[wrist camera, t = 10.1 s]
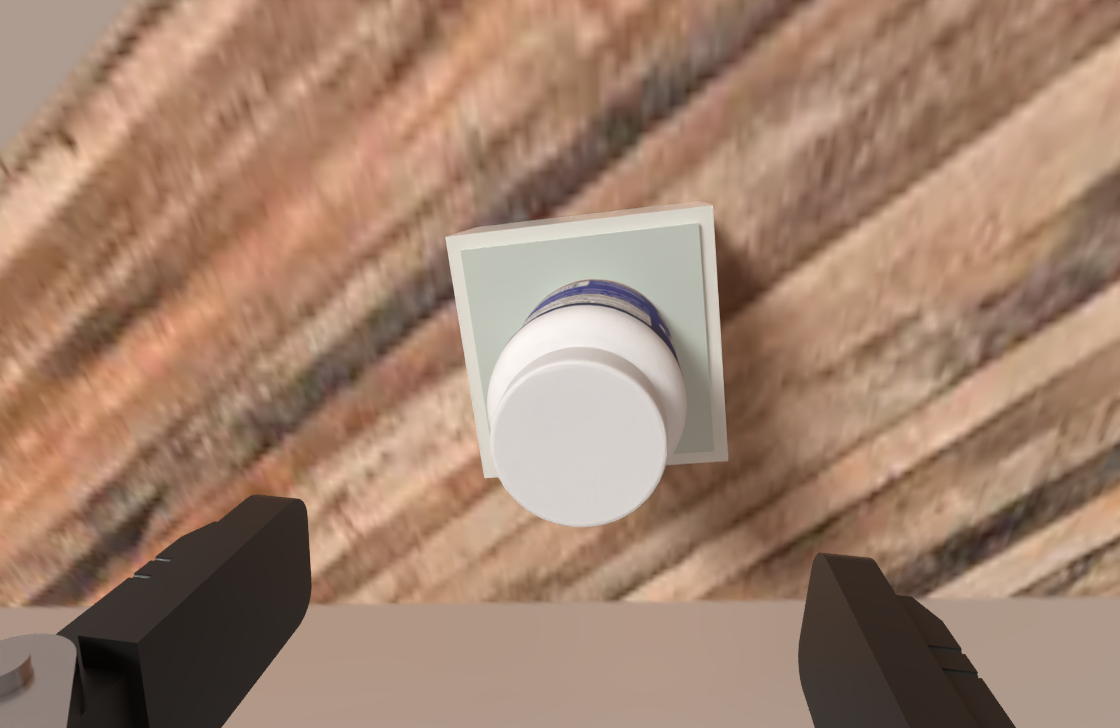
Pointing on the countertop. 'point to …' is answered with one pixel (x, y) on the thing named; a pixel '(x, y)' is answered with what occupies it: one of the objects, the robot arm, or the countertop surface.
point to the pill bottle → (586, 404)
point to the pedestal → (606, 253)
